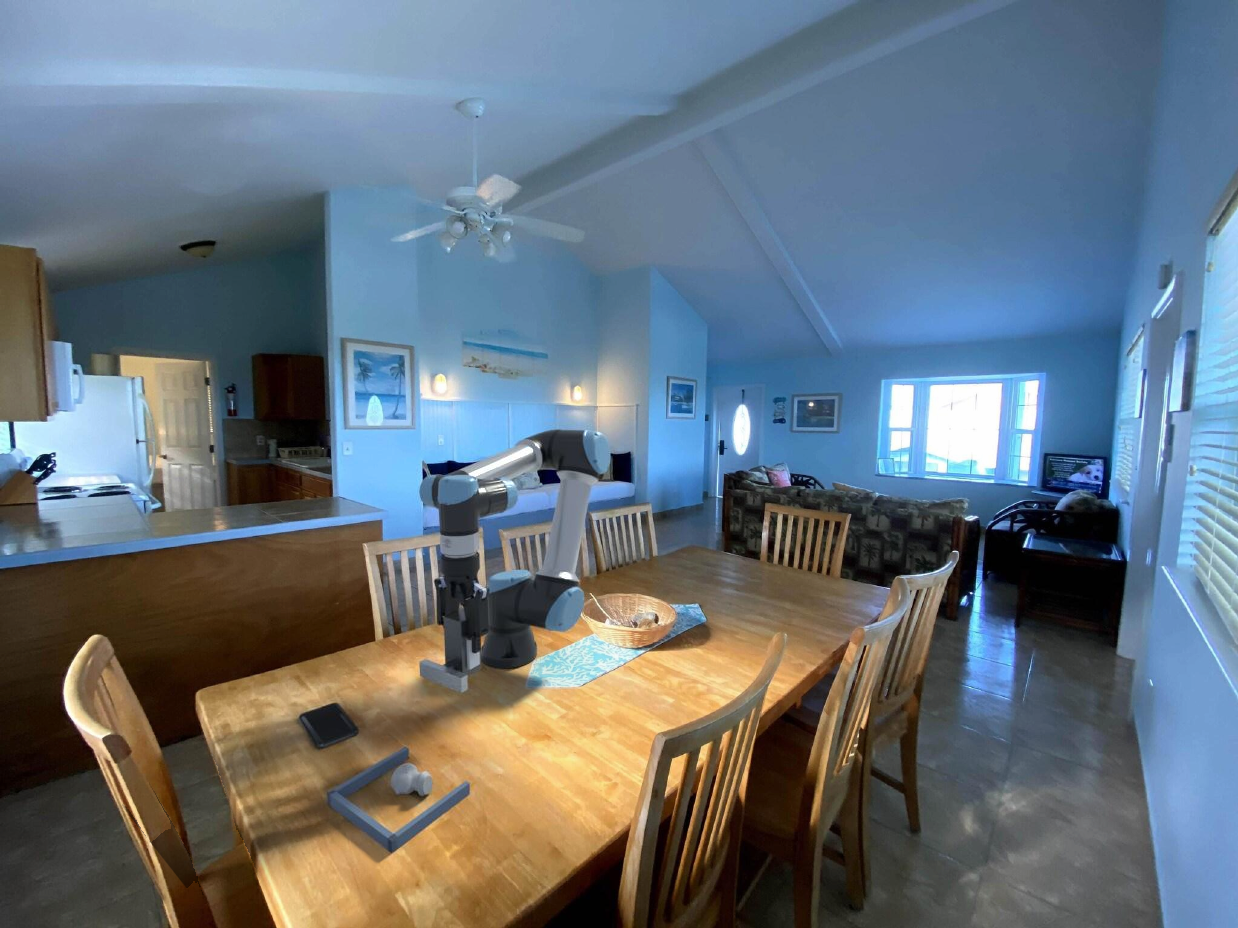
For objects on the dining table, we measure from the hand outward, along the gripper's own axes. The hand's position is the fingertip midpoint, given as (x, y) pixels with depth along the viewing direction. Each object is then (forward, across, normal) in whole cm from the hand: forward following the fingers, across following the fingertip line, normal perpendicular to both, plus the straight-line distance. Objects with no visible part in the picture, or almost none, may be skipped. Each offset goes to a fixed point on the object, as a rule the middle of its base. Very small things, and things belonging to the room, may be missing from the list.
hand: (463, 662), depth 108 cm
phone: (+15, -26, -14) cm, 33 cm away
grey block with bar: (+2, 0, -2) cm, 3 cm away
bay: (+14, +5, -20) cm, 25 cm away
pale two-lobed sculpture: (+15, +5, -18) cm, 24 cm away
